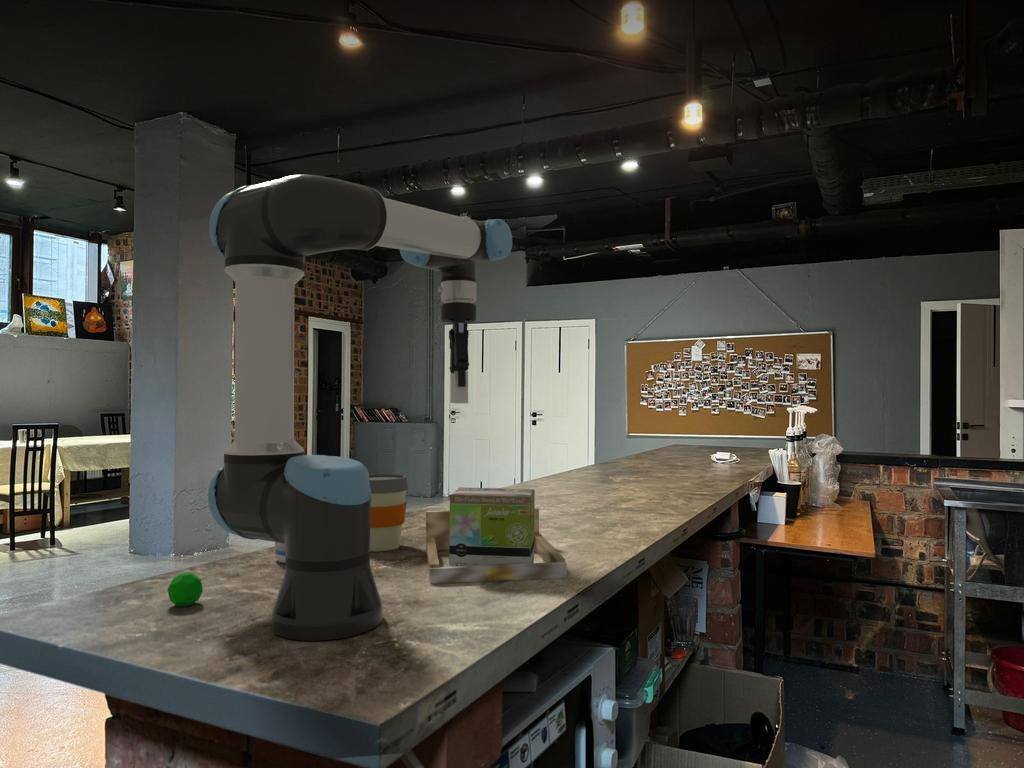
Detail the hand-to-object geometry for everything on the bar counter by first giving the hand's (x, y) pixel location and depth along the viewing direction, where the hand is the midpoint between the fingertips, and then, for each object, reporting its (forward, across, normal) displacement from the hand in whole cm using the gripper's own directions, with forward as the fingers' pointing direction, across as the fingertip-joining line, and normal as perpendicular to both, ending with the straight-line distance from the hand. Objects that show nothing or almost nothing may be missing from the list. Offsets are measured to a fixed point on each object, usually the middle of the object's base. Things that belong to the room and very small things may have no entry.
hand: (458, 403), depth 149 cm
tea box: (+31, +19, +5) cm, 37 cm away
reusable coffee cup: (+31, -5, -17) cm, 36 cm away
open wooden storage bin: (+31, +13, +5) cm, 34 cm away
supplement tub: (+31, +4, -32) cm, 45 cm away
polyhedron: (+31, +33, -45) cm, 64 cm away
